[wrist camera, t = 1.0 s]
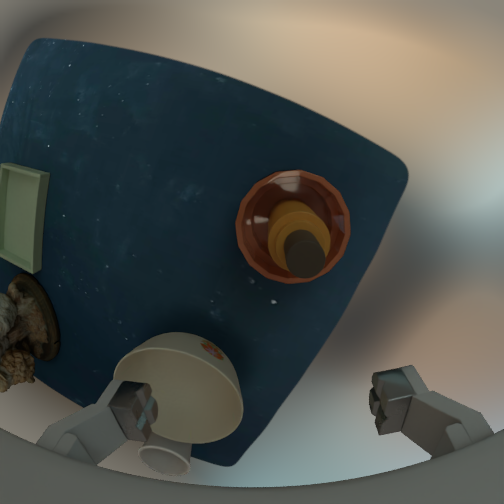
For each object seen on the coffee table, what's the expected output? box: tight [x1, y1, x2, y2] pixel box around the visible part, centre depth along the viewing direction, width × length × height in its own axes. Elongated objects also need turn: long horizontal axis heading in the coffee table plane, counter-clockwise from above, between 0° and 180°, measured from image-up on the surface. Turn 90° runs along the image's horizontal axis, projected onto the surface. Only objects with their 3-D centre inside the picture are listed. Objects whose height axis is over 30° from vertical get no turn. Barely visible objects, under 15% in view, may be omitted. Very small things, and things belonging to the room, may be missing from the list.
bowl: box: [113, 332, 243, 443], centre depth 36 cm, size 16×16×10 cm
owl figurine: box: [0, 273, 60, 392], centre depth 34 cm, size 18×12×17 cm, turn 178°
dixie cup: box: [138, 432, 192, 476], centre depth 40 cm, size 8×8×10 cm
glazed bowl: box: [235, 170, 351, 284], centre depth 32 cm, size 11×11×6 cm
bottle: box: [268, 198, 330, 279], centre depth 27 cm, size 5×5×16 cm
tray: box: [0, 163, 50, 274], centre depth 36 cm, size 15×10×2 cm
